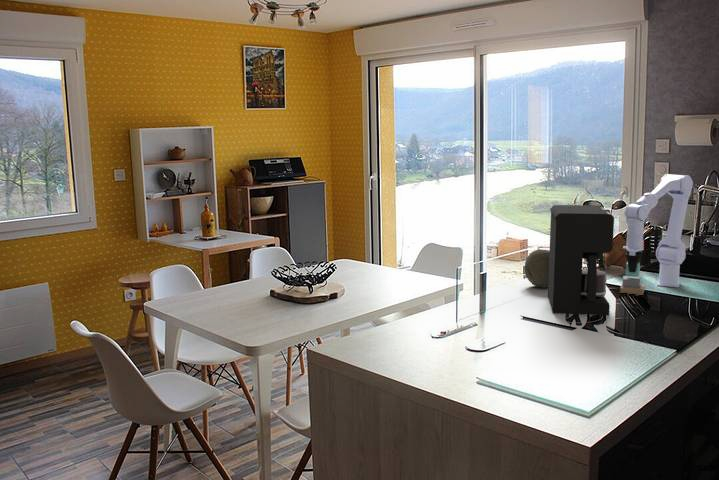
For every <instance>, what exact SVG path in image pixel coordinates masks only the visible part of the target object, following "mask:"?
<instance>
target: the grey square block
mask: <svg viewBox="0 0 719 480" xmlns="http://www.w3.org/2000/svg"><path fill="white" fill-rule="evenodd" d="M622 276H623V277H622V283H623V287H632V288H639V287H640V284H641V277H640V276H626V275H622Z"/></svg>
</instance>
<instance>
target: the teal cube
mask: <svg viewBox="0 0 719 480" xmlns="http://www.w3.org/2000/svg"><path fill="white" fill-rule="evenodd" d="M640 265H641V262H639V263H638V264H637V268H636V272H635V273H634V272H629V268H628V262H626V264H625V276H632V277H640V271H641V270H640V269H641V266H640Z"/></svg>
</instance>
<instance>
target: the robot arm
mask: <svg viewBox="0 0 719 480" xmlns="http://www.w3.org/2000/svg"><path fill="white" fill-rule="evenodd" d="M659 182H660V183H659V184H658V185H657V186H656V187H655V188H654V189H652V191H651V192H645V193H644V194H643V195H642V196H641V197H640V198H639V199H638V200H637V201H635V202H634V203H631V204H629V205H627V206H626V208H625V211H624V216H625V220H626V221H625V222H626V224H627V229H626V245H623V246H622V249H624V250H626V253H625V254H624V257H625V259H626V261H627V262H628V268H629V272H634V273H635V272H636V268H637V264H638V263H640V259H641V257H642V255H643V253H644V251H643V250H644V247H643V246H644V245H643V244H644V229H645V227H644V225H645V220H646V219H647V218H648V216H649V214H650V211H651V210H652V209H654V207H655V206H657V204H658V203H659V199H660V198H662V197H663V196H664V195H666V194H668V195H669V196H671V198H672V199H673V201H672V206H671V210H670V215H669V220H668V225H667V231H666V236H665V238H663V239H661V240H660V241H659V242H658V246H657V248H656V250H655V257H656V259H657V260H658V262H659V273H658V274H659V276H658V280H657V284H656V285H657V286H660V287H668V288H670V287H671V288H680V284H681V282H680V281H679V280H680V268H681V266H680V265H682V264H683V262H684V261H685V259H686V255H687V254H686V247H687V246H686V244H685V243H684V242H683V241H682V240H681V239H682V233H683V228H684V223H685V218H686V214H687V213H686V212H687V209H688V204H689V203H688V202H689V198H690V197H691V194H692V189H693V184H694V182H693V179H692V178H691V176H690V175H689V174H685V175H684V174H670V173H665V174H664V175H663V176H662V177H661V178H660V181H659ZM627 262H626V263H627Z"/></svg>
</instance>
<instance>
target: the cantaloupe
mask: <svg viewBox="0 0 719 480" xmlns="http://www.w3.org/2000/svg"><path fill="white" fill-rule="evenodd" d="M549 252H550V249H549V250H548V249H535V250H533V251H531V252H530V253H529V255H528V256H527V257H526V259H525V263H524V274H525V277H526V279H527V281H529V283H530V284H532V285H533V286H534V287H537V288H539V289H545V288H548V279H549Z"/></svg>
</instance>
